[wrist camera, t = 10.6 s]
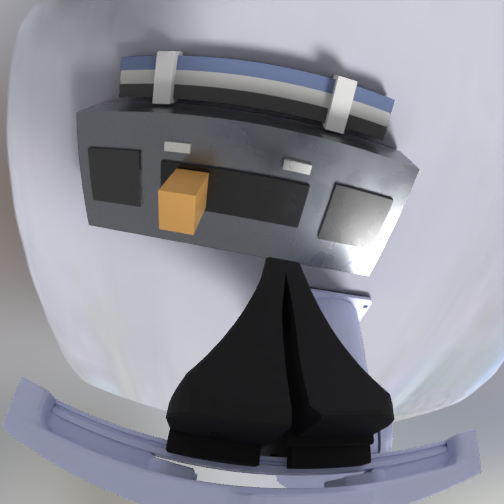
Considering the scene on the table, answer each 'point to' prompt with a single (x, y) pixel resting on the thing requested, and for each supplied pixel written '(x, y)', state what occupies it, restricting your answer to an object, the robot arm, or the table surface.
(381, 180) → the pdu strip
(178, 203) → the lever
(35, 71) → the table surface
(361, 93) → the cords
